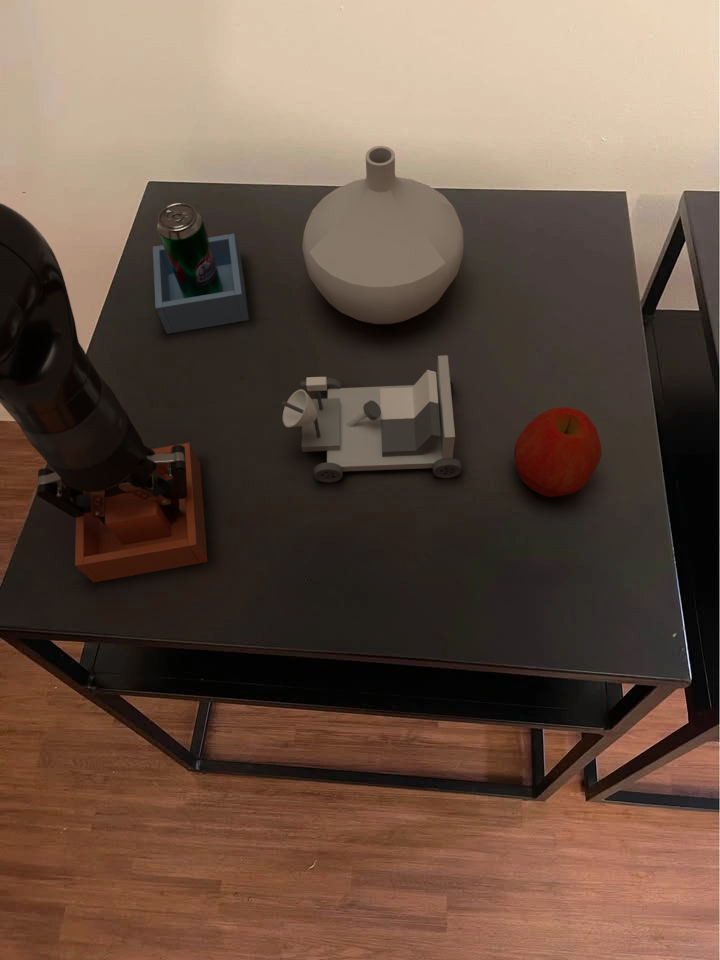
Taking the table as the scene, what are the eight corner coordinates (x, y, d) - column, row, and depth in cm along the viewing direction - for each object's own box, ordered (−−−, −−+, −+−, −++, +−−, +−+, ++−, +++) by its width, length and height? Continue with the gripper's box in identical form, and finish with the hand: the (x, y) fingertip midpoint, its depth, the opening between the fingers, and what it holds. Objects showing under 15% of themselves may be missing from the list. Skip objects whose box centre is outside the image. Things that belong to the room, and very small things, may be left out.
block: (122, 544, 73) (104, 523, 69) (122, 501, 75) (104, 478, 71) (171, 535, 73) (156, 514, 69) (169, 492, 76) (154, 469, 71)
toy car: (276, 435, 68) (281, 339, 73) (290, 484, 76) (294, 394, 82) (468, 427, 67) (458, 331, 72) (460, 478, 75) (452, 388, 81)
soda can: (213, 312, 87) (187, 236, 77) (176, 304, 88) (146, 227, 78) (230, 282, 90) (207, 205, 79) (193, 274, 91) (166, 196, 80)
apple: (583, 518, 73) (610, 466, 63) (502, 501, 74) (517, 447, 65) (593, 451, 76) (620, 392, 67) (516, 435, 78) (532, 375, 68)
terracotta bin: (93, 582, 72) (74, 565, 68) (93, 483, 78) (76, 461, 73) (207, 562, 72) (196, 544, 68) (200, 464, 78) (189, 442, 74)
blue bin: (166, 334, 87) (155, 308, 83) (163, 273, 92) (152, 246, 88) (249, 320, 87) (241, 293, 83) (241, 260, 92) (234, 233, 88)
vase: (297, 342, 85) (271, 213, 69) (324, 232, 94) (308, 93, 77) (451, 356, 83) (463, 227, 66) (465, 243, 92) (479, 102, 75)
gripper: (165, 377, 61) (211, 473, 76) (-4, 405, 61) (76, 497, 75) (168, 451, 58) (216, 537, 72) (-11, 482, 57) (75, 562, 72)
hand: (144, 516), depth 74 cm, fingers closed on block, 5 cm apart
